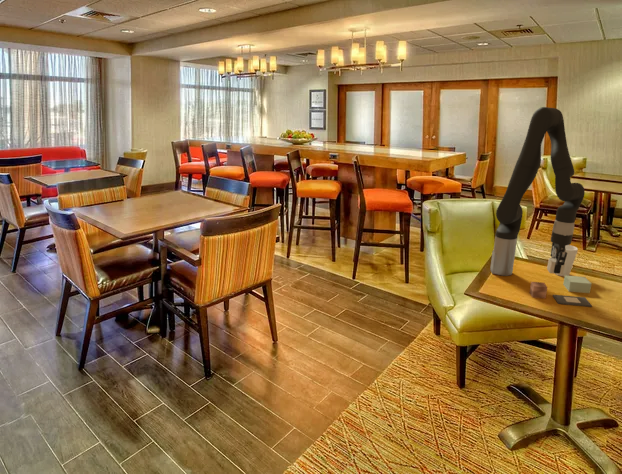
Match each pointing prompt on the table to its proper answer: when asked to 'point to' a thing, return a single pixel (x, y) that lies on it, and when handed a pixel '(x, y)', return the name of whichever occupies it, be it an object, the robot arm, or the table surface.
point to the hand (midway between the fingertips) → (555, 270)
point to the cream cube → (552, 265)
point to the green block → (577, 284)
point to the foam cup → (569, 259)
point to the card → (572, 300)
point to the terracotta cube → (538, 290)
